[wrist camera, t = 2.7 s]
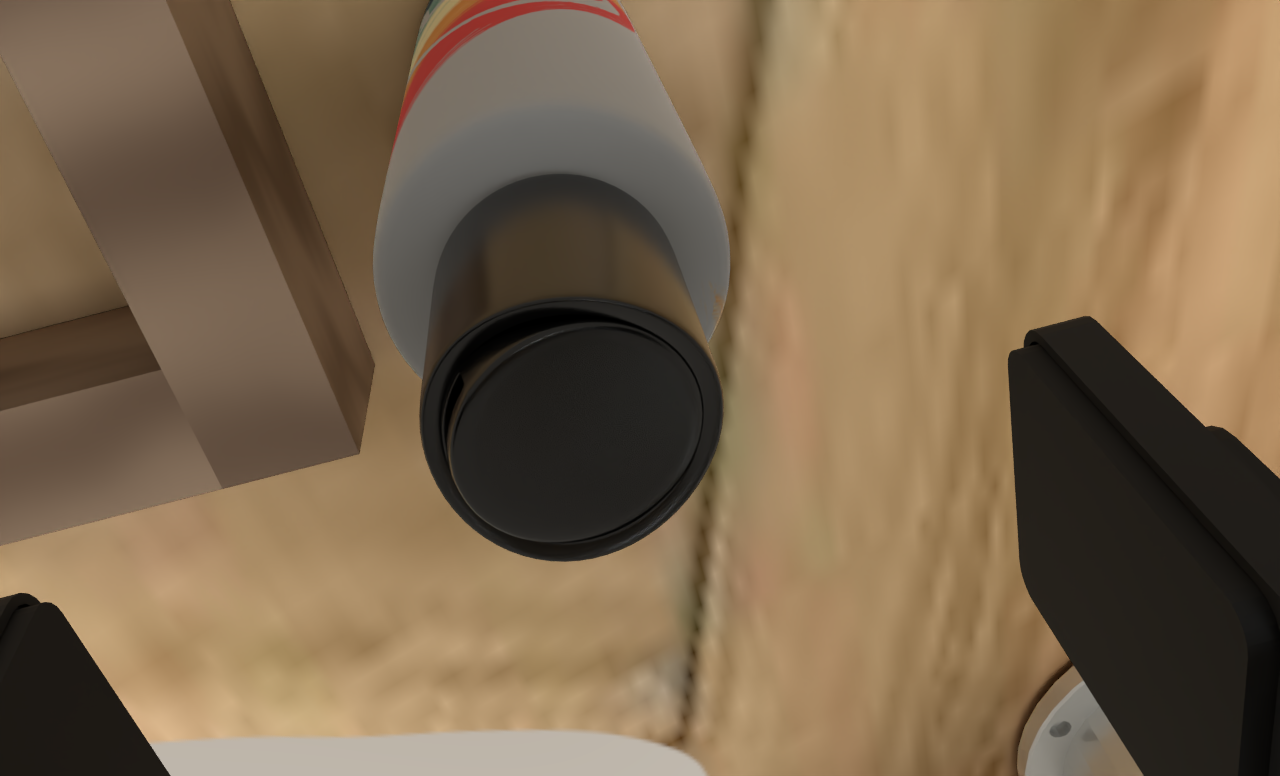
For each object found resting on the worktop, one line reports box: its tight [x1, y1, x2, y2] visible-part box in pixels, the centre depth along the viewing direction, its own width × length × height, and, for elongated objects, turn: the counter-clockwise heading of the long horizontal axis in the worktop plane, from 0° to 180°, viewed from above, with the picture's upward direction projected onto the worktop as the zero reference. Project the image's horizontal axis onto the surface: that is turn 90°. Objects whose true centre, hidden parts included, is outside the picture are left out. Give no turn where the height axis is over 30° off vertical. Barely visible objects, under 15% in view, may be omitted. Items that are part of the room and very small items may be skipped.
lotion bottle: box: [373, 0, 730, 562], centre depth 22 cm, size 6×6×20 cm
